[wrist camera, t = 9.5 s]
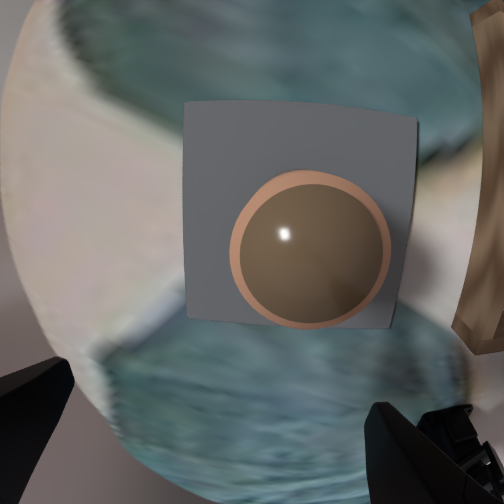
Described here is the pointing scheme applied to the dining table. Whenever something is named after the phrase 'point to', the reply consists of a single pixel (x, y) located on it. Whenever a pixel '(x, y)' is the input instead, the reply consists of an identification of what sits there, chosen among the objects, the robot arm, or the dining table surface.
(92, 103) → the dining table surface
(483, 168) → the frame
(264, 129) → the mat
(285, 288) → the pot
